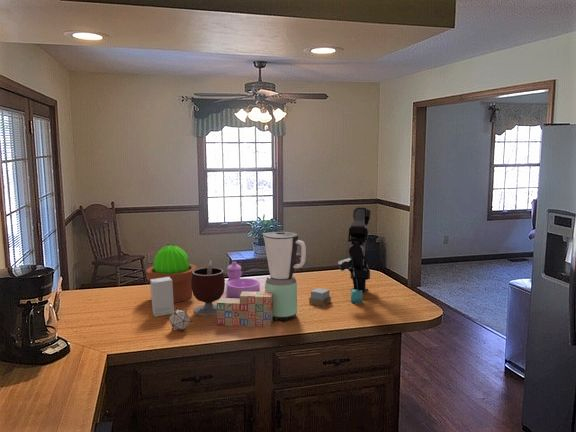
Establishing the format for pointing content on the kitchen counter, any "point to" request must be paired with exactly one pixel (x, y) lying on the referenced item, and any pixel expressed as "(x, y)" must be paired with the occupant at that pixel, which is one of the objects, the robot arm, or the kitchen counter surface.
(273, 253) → the blender
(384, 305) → the kitchen counter surface
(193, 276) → the mate gourd
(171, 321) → the game die
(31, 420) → the kitchen counter surface
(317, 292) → the tower top
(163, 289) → the skincare box
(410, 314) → the kitchen counter surface
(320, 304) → the tower base
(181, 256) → the potted cactus
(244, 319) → the stack of blocks
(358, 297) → the teal domed cylinder
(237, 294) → the purple toy boat
